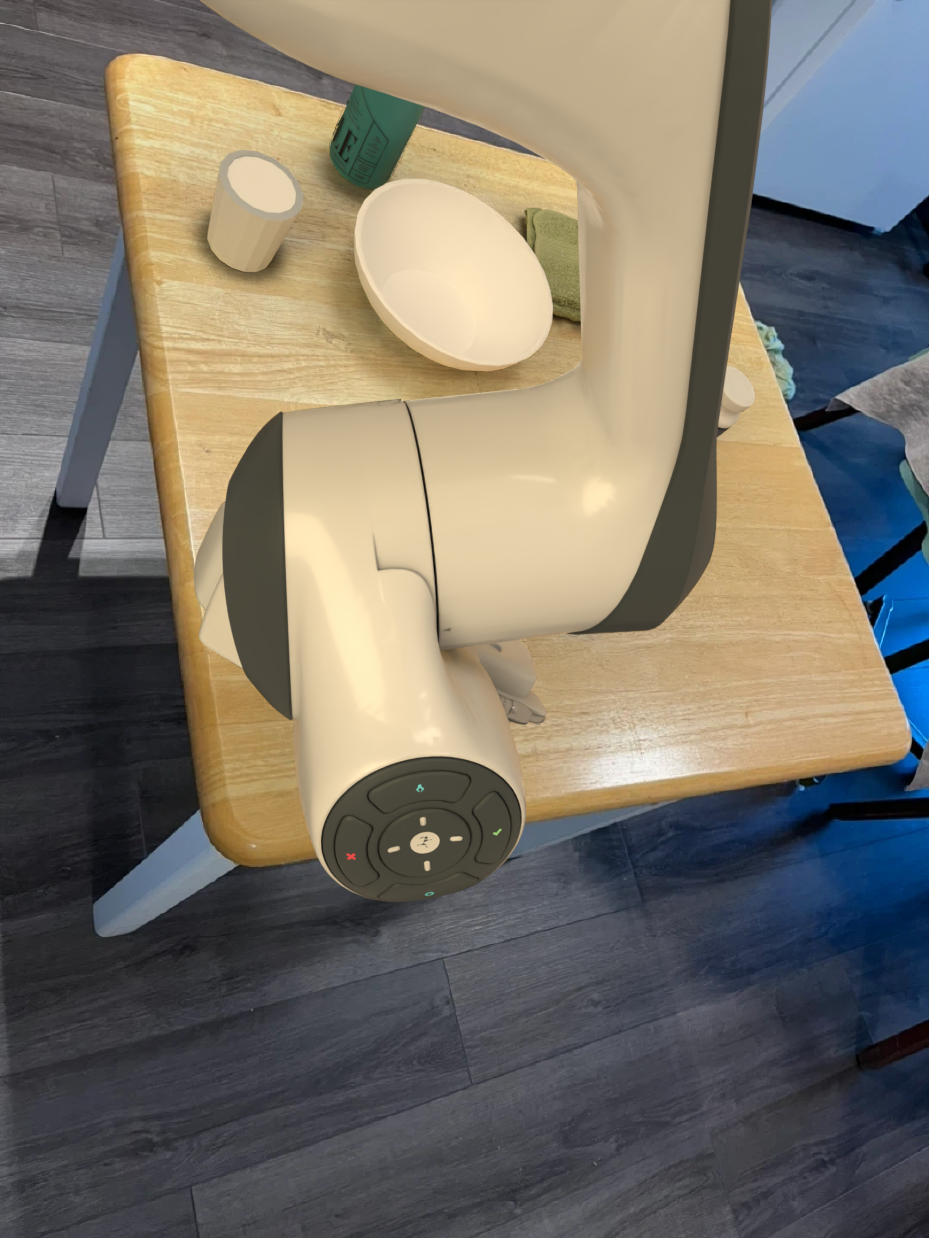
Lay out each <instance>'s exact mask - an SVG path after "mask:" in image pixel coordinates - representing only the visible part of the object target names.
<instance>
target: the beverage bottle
mask: <svg viewBox="0 0 929 1238" xmlns="http://www.w3.org/2000/svg"><path fill="white" fill-rule="evenodd" d="M425 108H426V107H425V106H422V105H419V104H416V103H413V102H410V101H407V100H404V99H401V98H397V97H394V96H391V95H388V94H385V93H382V92H379V91H375V90H372V89H369V88H366V87H362V86H359V85H356V84H354V86H353V89H352V91H351V94H350V96H349V99H348V100H346V104H345V108H344V109H342V111H341V112H340V115H339V118H338V120H337V122H336V124H335V127H334V130H333V132H332V136H331V140H330V142H329V144H328V146H329V147H328V148H329V158H330V162H331V164H332V166H333V167H334V169H335V171H336V172H337V173H338V174H339V175H340V176H341V177H342V178H343V179H345V180H346V181H347V182H348V183H350V184H352V185H354V186H356V187H359V188H361V189H366V190H375V189H377V188H379V187H381V186H383V185H384V184H386V183H388V182H391V180H392V176H393V175H394V173H395V171H396V169H397V167H398V166H399V164H400V162H401V160H402V159H403V157H404V155H405V152H406V150H407V146H408V144H409V142H410V140H411V138H412V137H413V136H414V132H415V130H416V127H417V126H418V124H419V122H420V120H421V117H422V115H423V113H424V110H425Z"/></svg>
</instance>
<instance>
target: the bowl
mask: <svg viewBox="0 0 929 1238" xmlns="http://www.w3.org/2000/svg"><path fill="white" fill-rule="evenodd" d="M353 256H354V264H355V268H356V271H357V275H358V279H359V282H360V284H361V286H362V289H363V291H364V293H365V295H366V298H367V299H368V302H369V304H370V306H371V307H372V309H373V310H374V311H375V313H376V314H377V316H378V317H379V319H380V321H382V323H383V324H384V325H385V326H386V327H387V328H388V329H389V330H390V331H391V332H392V333H393V334H394V336H396V338H398V340H401V341H402V343H404V344H405V345H406V346H407V347H408V348H410V349H412V350H413V351H415V352H416V353H418V354H420V355H421V356H423V357H425V358H426V359H428V360H431V361H433V362H435V363H437V364H441V365H443V366H445V367H449V368H453V369H456V370H457V369H458V370H460V371H474V372H492V371H497V370H504V369H507V368H509V367H512V366H514V365H517V364H519V363H521V362H523V361H525V360H526V359H529V358H530V357H532V355H534V353H536V352H537V351H538V350H539V349H541V348H542V346H543V344H544V343H545V341H546V340H547V338H548V336H549V334H550V330H551V327H552V324H553V315H554V314H553V303H552V297H551V290H550V287H549V284H548V281H547V278H546V275H545V272H544V270H543V268H542V267H541V265H540V263H539V261H538V259H537V257H536V255H535V254H534V252H533V251H532V249H531V248H530V246H529V245H528V244H527V240H526V239H525V238H524V237H523V236H522V234H520V232H518V230H517V229H516V228H515V226H514V225H512V224H511V223H510V222H509V221H508V220H507V219H506V217H504V216H503V215H502V214H501V213H499V212H498V211H497V210H496V209H494V208H493V207H492V206H490V205H489V204H487V203H486V202H484V201H483V200H481V199H480V198H478V197H476V196H474V195H472V194H471V193H469V192H467V191H465V190H463V189H461V188H459V187H456V186H453V185H451V184H448V183H445V182H442V181H438V180H433V179H427V178H401V179H397V180H392V181H389V182H388V181H387V182H386V184H384V185H383V186H381V187H379V188H377V189H373V191H372V192H371V193H370V194H369V195H368V196H367V197H365V199H364V201H363V202H362V204H361V207H360V209H359V210H358V212H357V216H356V220H355V226H354V230H353Z"/></svg>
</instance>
